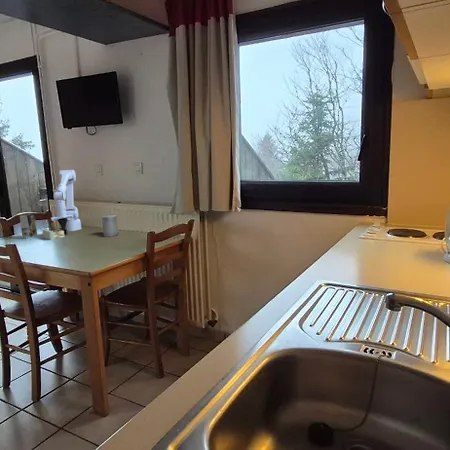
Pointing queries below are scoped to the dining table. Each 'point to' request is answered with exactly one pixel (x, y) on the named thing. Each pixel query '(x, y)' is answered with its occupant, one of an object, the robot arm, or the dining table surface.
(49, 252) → the dining table surface
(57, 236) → the socket block
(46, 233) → the board
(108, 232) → the pillar candle
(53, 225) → the dowel
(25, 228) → the coffee box
